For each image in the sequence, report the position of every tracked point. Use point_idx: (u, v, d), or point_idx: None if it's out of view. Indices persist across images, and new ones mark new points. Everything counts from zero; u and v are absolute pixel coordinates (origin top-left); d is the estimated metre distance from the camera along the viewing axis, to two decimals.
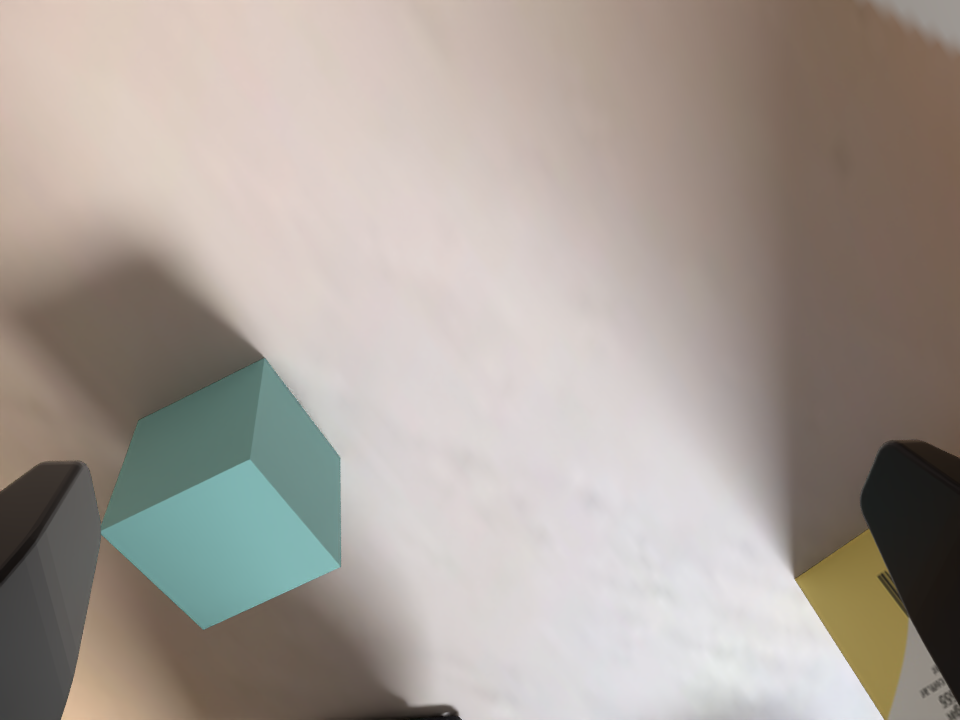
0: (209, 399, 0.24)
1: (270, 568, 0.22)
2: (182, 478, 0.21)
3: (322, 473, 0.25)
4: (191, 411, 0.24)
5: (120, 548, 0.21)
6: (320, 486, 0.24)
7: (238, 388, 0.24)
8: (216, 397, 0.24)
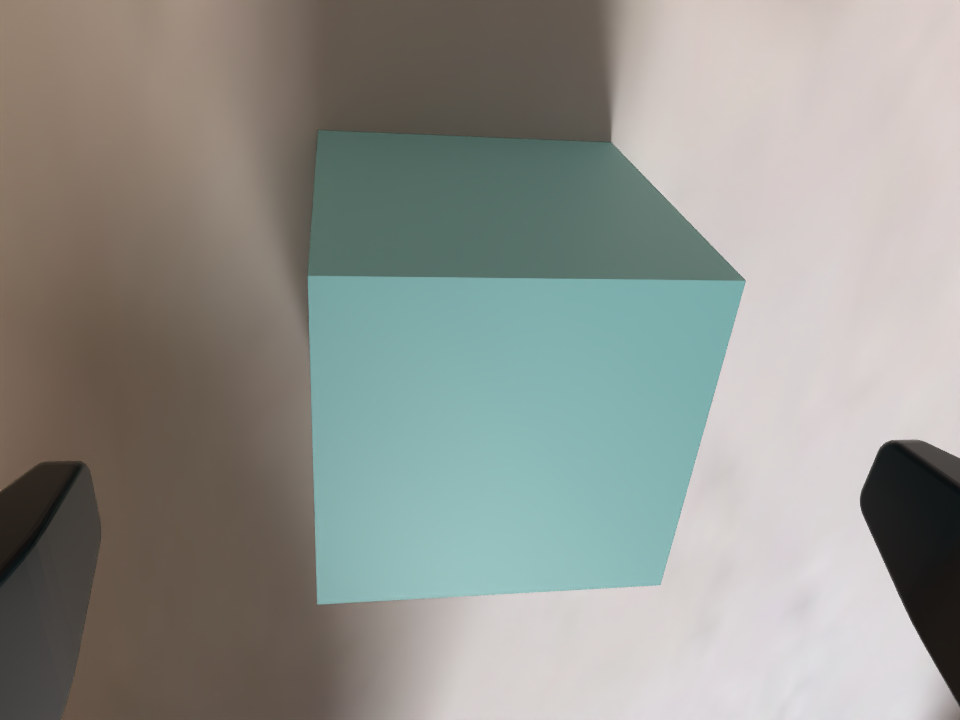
0: (507, 155, 0.12)
1: (552, 533, 0.10)
2: (538, 253, 0.09)
3: None
4: (468, 158, 0.11)
5: (317, 344, 0.08)
6: None
7: (580, 162, 0.12)
8: (526, 158, 0.12)
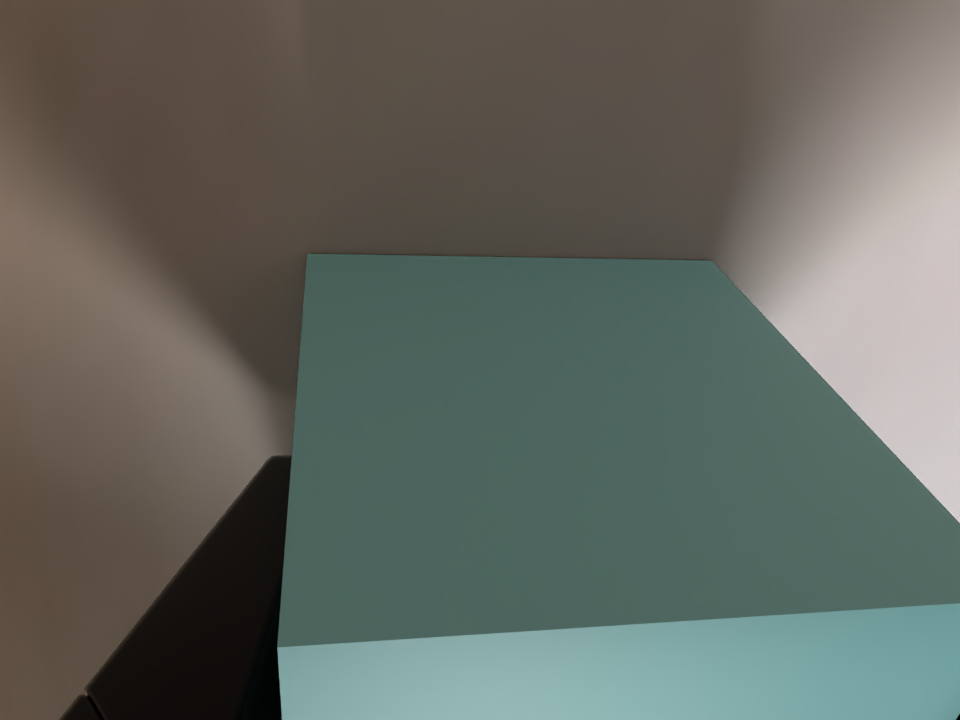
0: (578, 296, 0.08)
1: None
2: (672, 543, 0.05)
3: None
4: (525, 305, 0.08)
5: None
6: None
7: (683, 307, 0.08)
8: (606, 302, 0.08)
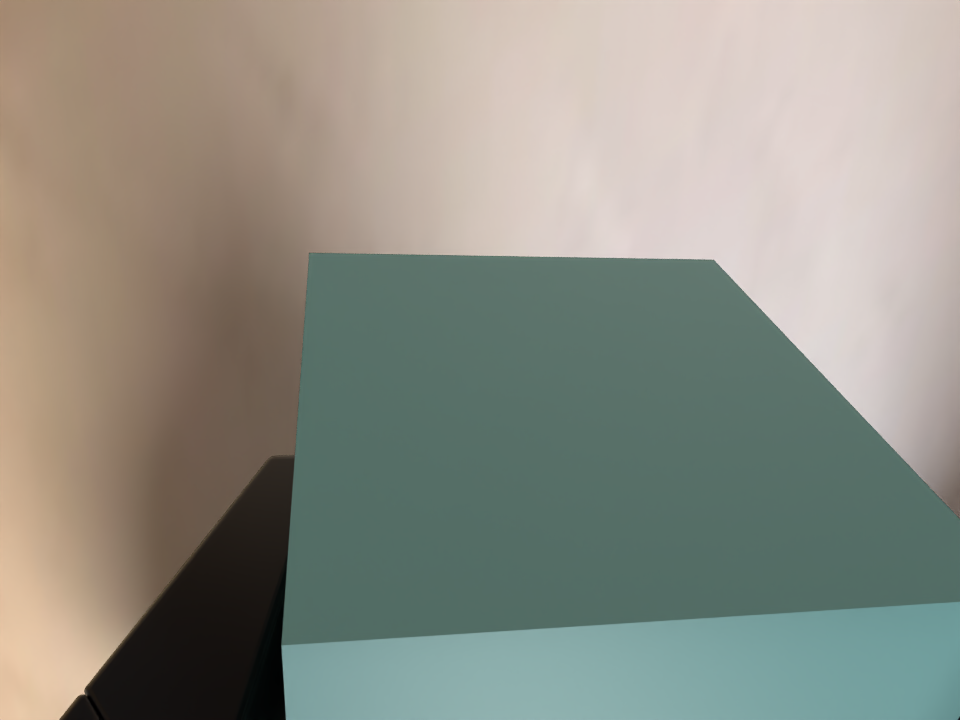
0: (580, 295, 0.08)
1: None
2: (675, 541, 0.05)
3: None
4: (527, 304, 0.08)
5: None
6: None
7: (685, 306, 0.08)
8: (608, 301, 0.08)
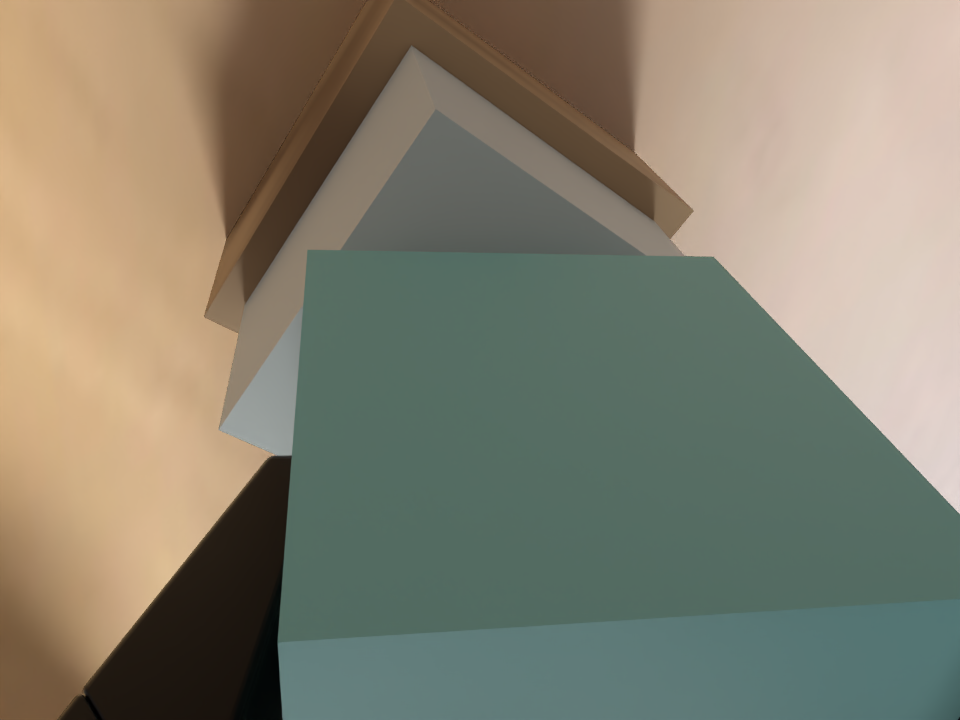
0: (579, 293, 0.08)
1: None
2: (675, 537, 0.05)
3: None
4: (526, 301, 0.08)
5: None
6: None
7: (685, 302, 0.08)
8: (608, 297, 0.08)
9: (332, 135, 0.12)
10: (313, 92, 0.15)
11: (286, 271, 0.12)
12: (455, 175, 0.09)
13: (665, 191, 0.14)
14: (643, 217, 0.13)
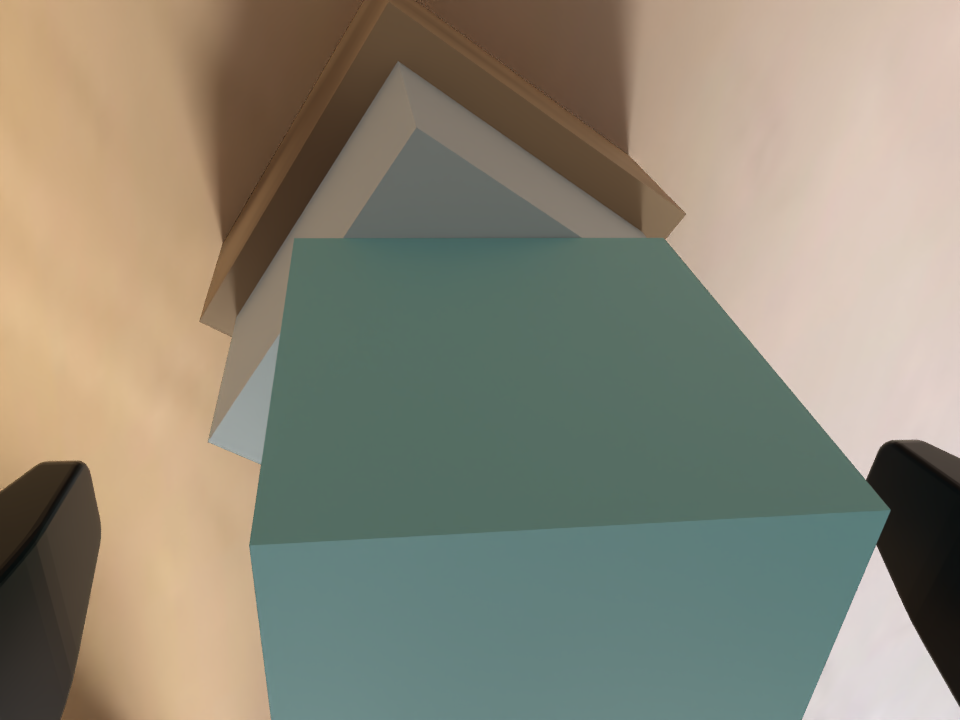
0: (534, 271, 0.09)
1: None
2: (588, 468, 0.06)
3: None
4: (486, 279, 0.09)
5: (272, 624, 0.06)
6: None
7: (630, 278, 0.09)
8: (561, 275, 0.09)
9: (324, 142, 0.12)
10: (308, 97, 0.15)
11: (275, 284, 0.12)
12: (437, 192, 0.09)
13: (657, 194, 0.14)
14: (630, 228, 0.13)
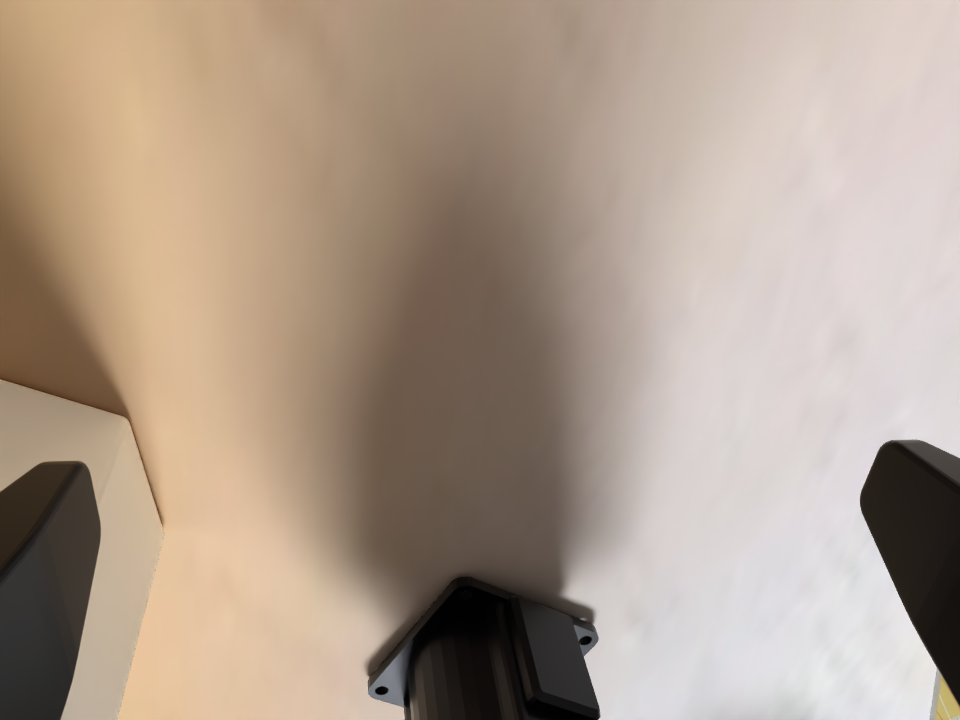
0: None
1: None
2: None
3: None
4: None
5: None
6: None
7: None
8: None
9: None
10: None
11: None
12: None
13: None
14: None
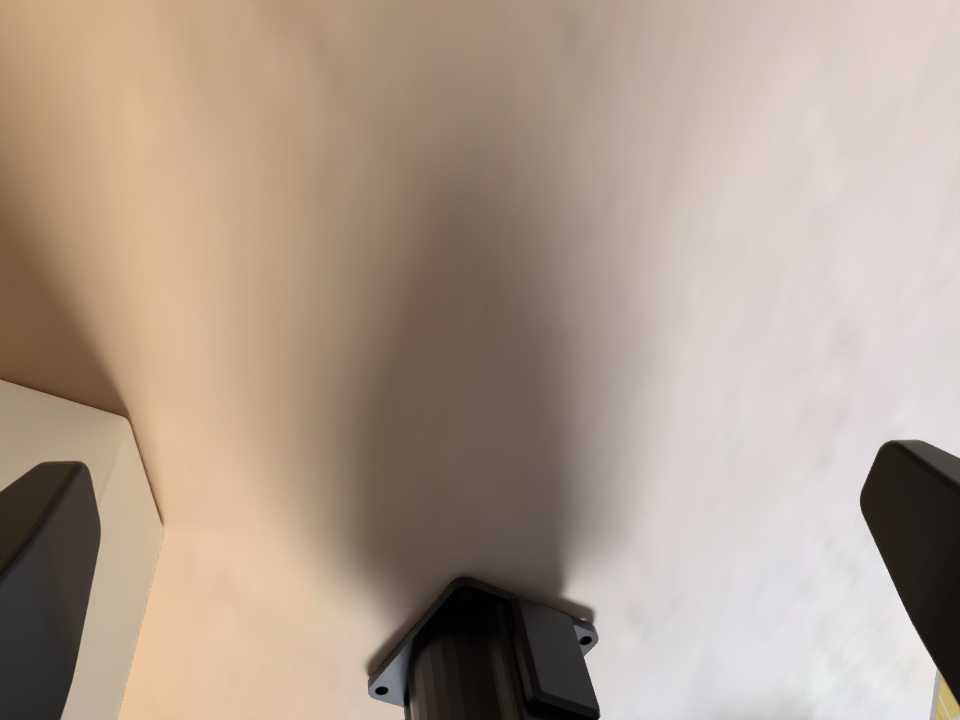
0: None
1: None
2: None
3: None
4: None
5: None
6: None
7: None
8: None
9: None
10: None
11: None
12: None
13: None
14: None
